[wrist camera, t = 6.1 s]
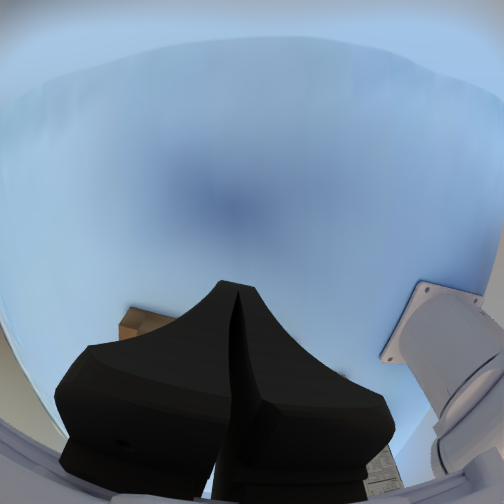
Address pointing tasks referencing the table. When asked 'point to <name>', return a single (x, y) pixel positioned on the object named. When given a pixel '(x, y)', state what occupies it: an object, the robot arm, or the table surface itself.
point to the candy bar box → (382, 474)
